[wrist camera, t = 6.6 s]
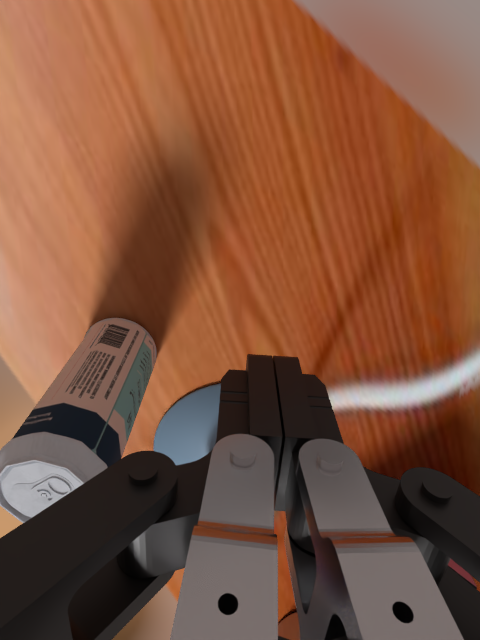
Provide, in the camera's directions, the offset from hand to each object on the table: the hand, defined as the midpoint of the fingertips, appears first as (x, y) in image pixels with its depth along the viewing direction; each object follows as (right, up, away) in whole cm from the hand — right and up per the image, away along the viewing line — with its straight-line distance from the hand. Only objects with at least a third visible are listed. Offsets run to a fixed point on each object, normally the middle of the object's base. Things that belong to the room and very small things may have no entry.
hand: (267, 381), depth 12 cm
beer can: (-9, 0, +15) cm, 17 cm away
